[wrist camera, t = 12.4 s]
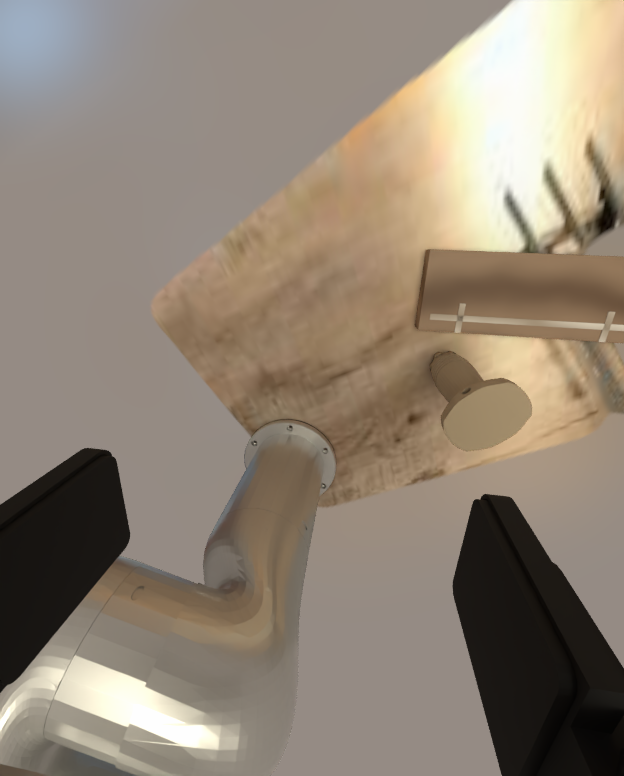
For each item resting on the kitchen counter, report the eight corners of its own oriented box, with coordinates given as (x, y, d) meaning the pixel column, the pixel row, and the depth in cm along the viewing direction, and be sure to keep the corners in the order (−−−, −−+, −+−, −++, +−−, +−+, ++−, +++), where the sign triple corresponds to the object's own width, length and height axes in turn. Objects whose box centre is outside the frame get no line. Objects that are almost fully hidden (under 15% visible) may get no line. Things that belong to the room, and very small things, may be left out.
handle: (480, 362, 40) (543, 419, 26) (431, 394, 42) (465, 461, 28) (456, 330, 39) (509, 369, 25) (408, 363, 41) (431, 417, 27)
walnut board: (626, 339, 37) (645, 344, 34) (414, 325, 39) (418, 330, 37) (656, 258, 34) (679, 258, 31) (425, 250, 36) (430, 249, 34)
